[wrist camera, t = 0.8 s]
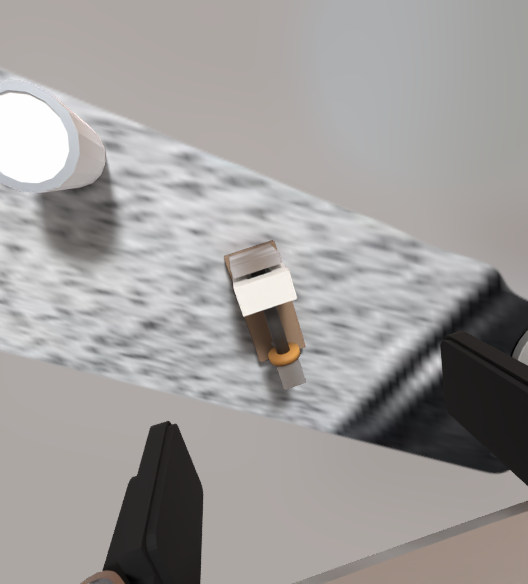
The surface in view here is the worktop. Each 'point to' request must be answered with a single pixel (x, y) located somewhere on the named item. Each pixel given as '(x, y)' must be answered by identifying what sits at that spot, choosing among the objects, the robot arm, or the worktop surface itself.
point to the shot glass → (44, 142)
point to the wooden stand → (271, 316)
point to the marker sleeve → (264, 289)
